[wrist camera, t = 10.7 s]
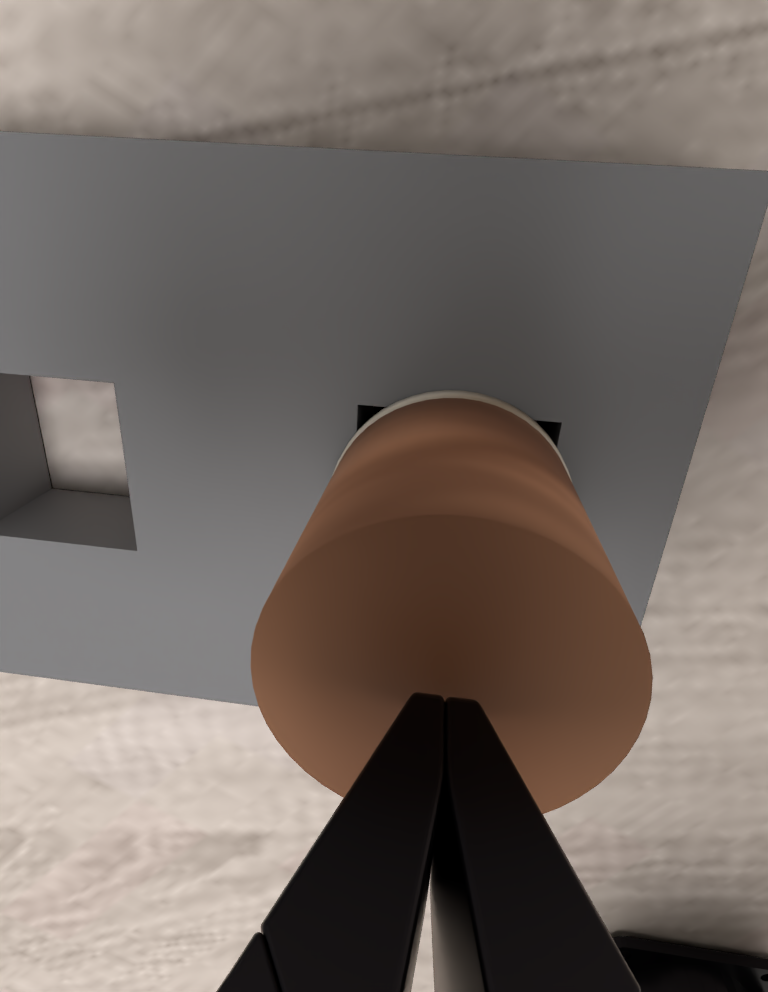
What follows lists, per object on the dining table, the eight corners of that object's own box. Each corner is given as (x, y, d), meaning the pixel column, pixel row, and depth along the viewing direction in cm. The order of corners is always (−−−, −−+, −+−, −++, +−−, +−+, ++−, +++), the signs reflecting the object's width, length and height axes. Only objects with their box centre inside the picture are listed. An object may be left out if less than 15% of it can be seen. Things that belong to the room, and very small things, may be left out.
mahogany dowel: (569, 372, 14) (710, 537, 6) (533, 559, 17) (604, 853, 9) (355, 355, 15) (238, 489, 7) (348, 539, 17) (254, 800, 9)
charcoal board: (708, 186, 13) (777, 171, 10) (581, 676, 18) (602, 752, 16) (-123, 141, 14) (-259, 118, 12) (2, 605, 20) (-70, 662, 17)
